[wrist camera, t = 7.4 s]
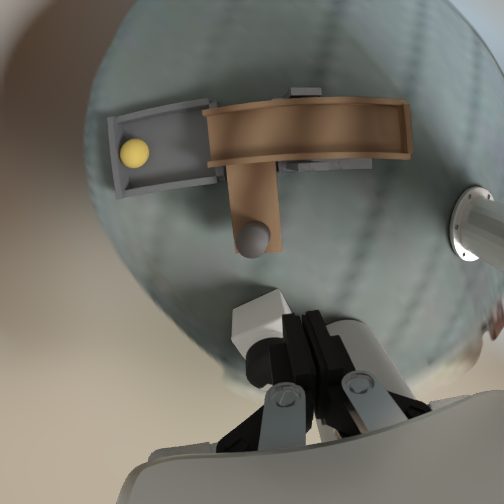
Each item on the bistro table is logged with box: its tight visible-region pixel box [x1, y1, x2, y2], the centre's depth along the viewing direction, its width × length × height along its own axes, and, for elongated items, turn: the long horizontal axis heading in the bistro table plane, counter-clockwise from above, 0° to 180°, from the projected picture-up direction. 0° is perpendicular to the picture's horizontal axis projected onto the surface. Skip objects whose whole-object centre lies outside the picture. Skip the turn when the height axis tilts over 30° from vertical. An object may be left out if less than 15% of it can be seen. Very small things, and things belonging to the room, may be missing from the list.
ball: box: [120, 139, 149, 168], centre depth 29 cm, size 4×4×4 cm
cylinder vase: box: [314, 320, 416, 443], centre depth 29 cm, size 12×12×25 cm
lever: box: [202, 97, 413, 258], centre depth 25 cm, size 20×16×4 cm
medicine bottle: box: [231, 289, 292, 391], centre depth 33 cm, size 7×7×12 cm
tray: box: [107, 98, 226, 200], centre depth 29 cm, size 13×10×4 cm
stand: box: [272, 87, 372, 173], centre depth 27 cm, size 12×9×7 cm
